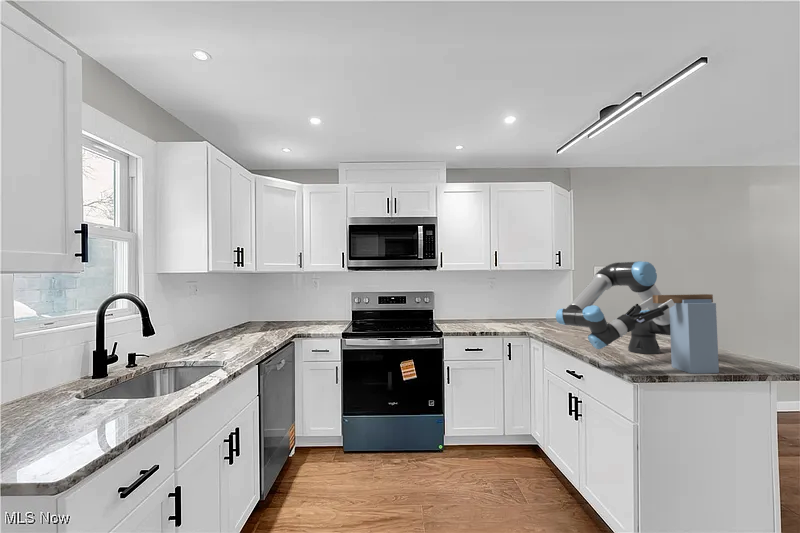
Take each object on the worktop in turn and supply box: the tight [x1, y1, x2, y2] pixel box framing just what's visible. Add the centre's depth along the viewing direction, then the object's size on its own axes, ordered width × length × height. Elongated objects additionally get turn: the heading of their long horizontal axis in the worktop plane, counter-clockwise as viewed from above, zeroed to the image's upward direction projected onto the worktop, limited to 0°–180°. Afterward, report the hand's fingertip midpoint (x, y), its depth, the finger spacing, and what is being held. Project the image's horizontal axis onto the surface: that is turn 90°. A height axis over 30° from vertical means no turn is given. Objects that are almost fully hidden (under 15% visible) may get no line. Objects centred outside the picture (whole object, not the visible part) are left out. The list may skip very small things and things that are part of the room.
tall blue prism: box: [669, 299, 720, 374], centre depth 174 cm, size 12×12×32 cm
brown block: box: [653, 293, 714, 303], centre depth 174 cm, size 4×24×4 cm, turn 89°
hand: (662, 300), depth 174 cm, fingers open, 13 cm apart
